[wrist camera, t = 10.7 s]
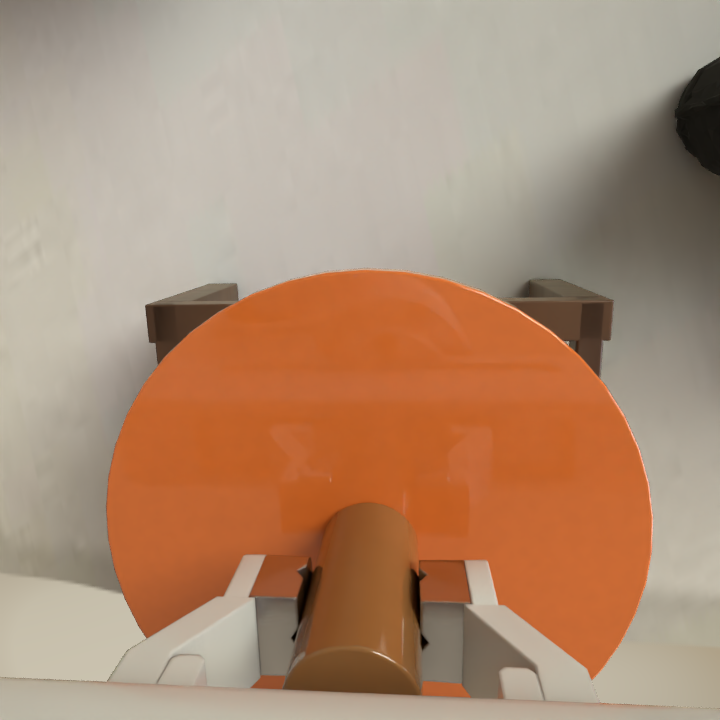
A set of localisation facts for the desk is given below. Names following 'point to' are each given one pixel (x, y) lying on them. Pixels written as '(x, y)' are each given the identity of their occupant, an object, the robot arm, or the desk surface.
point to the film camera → (702, 116)
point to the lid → (381, 472)
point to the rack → (545, 303)
